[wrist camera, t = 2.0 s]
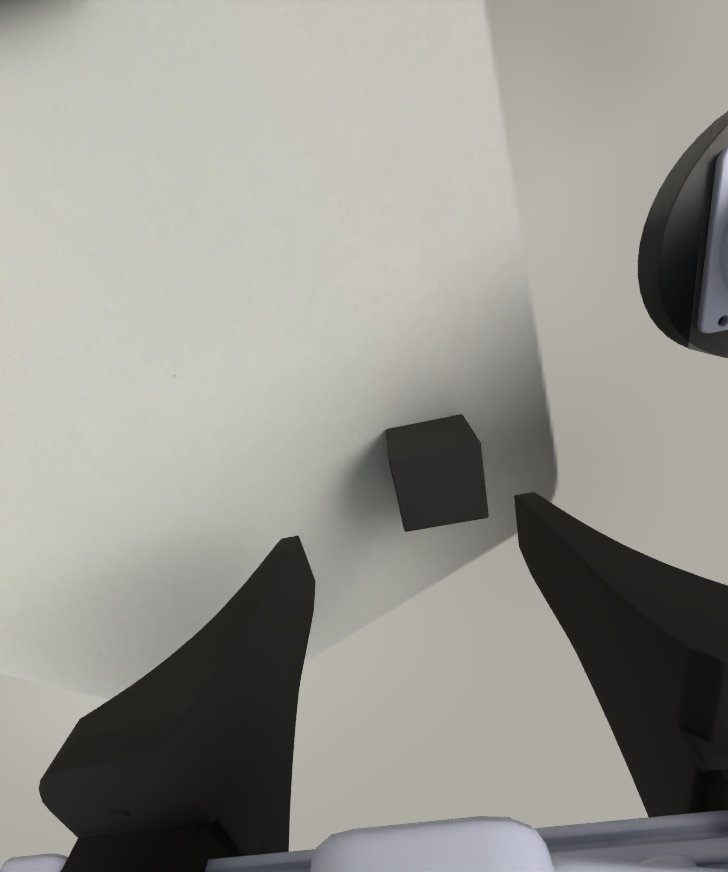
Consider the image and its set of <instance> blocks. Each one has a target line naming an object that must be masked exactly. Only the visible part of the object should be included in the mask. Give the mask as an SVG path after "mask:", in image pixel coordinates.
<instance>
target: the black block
mask: <svg viewBox="0 0 728 872" xmlns="http://www.w3.org/2000/svg"><path fill="white" fill-rule="evenodd" d="M386 437H387V447H388V457H389V463H390V468H391V472H392V477H393V481H394V486H395V491H396V495H397V500H398V504H399V509H400V513H401V518H402V522H403V527H404V531H405V532H407V531H413V530H419V529H425V528H431V527H436V526H442V525H448V524H454V523H460V522H466V521H471V520H477V519H483V518H488V516H489V514H488V505H487V496H486V487H485V478H484V469H483V460H482V451H481V443H480V441H479V440H478V438H477V436H476V435H475V433H474V432H473V430H472V429H471V427H470V426H469V424H468V422H467V421H466V419H465V418H464V416H463V415H456V416H451V417H446V418H441V419H436V420H431V421H426V422H421V423H416V424H411V425H406V426H401V427H396V428H391V429H387V430H386Z"/></svg>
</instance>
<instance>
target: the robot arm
mask: <svg viewBox="0 0 728 872" xmlns="http://www.w3.org/2000/svg"><path fill="white" fill-rule="evenodd" d="M721 317H722V318H723V319H722V322H721V323H720V324H718V321H719V319H720V318H721ZM697 329H698V330H699V331H700V332H703V333H714V332H719V331H723V330H728V148H726V149H724V150H723V151H722V152H721V153H720V154H719V156H718V157H717V160H716V164H715V173H714V182H713V190H712V199H711V207H710V216H709V224H708V233H707V242H706V250H705V259H704V267H703V276H702V285H701V293H700V302H699V310H698V319H697ZM514 498H515V509H516V519H517V530H518V540H519V547H520V550H521V552H522V555H523V557H524V559H525V562H526V564H527V566H528V568H529V571H530V573H531V575H532V577H533V578H534V580H535V582H536V584H537V585H538V587H539V589H540V591H541V592H542V594H543V596H544V598H545V599H546V601H547V603H548V604H549V606H550V608H551V609H552V611H553V613H554V614H555V616H556V618H557V620H558V621H559V623H560V625H561V626H562V628H563V630H564V631H565V633H566V635H567V637H568V638H569V640H570V642H571V644H572V646H573V648H574V649H575V651H576V653H577V655H578V657H579V659H580V661H581V663H582V666H583V668H584V670H585V672H586V674H587V676H588V678H589V680H590V683H591V685H592V687H593V689H594V691H595V694H596V696H597V698H598V700H599V703H600V704H601V707H602V709H603V711H604V714H605V716H606V718H607V720H608V722H609V725H610V727H611V729H612V731H613V734H614V736H615V738H616V741H617V743H618V745H619V748H620V750H621V752H622V755H623V757H624V759H625V762H626V764H627V766H628V768H629V771H630V773H631V775H632V778H633V780H634V783H635V785H636V788H637V790H638V792H639V795H640V797H641V799H642V802H643V805H644V807H645V809H646V812H647V814H648V817H649V818H639V819H628V820H618V821H608V822H597V823H586V824H576V825H565V826H555V827H544V828H532V827H531V826H530V825H528V824H525V823H522V822H520V821H517V820H514V819H512V818H509V817H488V816H487V817H486V816H479V817H468V818H458V819H448V820H439V821H428V822H418V823H408V824H399V825H389V826H379V827H369V828H358V829H352V830H348V831H344V832H341V833H336V834H332V835H331V836H329V837H328V838H327V839H326V840H325V841H323V842H322V843H321V844H320V845H319V846H318V847H317V848H316V849H314V850H304V851H293V852H289V850H288V849H289V822H290V821H289V820H290V799H291V780H292V764H293V750H294V737H295V724H296V714H297V704H298V693H299V687H300V680H301V674H302V669H303V664H304V659H305V654H306V649H307V643H308V638H309V633H310V628H311V622H312V617H313V611H314V599H315V579H314V576H313V573H312V571H311V568H310V565H309V562H308V560H307V557H306V554H305V552H304V549H303V546H302V544H301V541H300V538H299V536H294V537H288V538H283V539H281V540H280V541H279V542H278V543H277V545H276V546H275V547H274V548H273V549H272V551H271V552H270V553H269V554H268V556H267V557H266V558H265V559H264V561H263V562H262V563H261V564H260V566H259V567H258V568H257V569H256V571H255V572H254V573H253V574H252V575H251V577H250V578H249V579H248V580H247V582H246V583H245V584H244V585H243V586H242V587H241V588H240V589H239V591H238V592H237V593H236V594H235V595H234V596H233V597H232V598H231V600H230V601H229V602H228V603H227V604H226V605H225V606H224V607H223V608H222V609H221V610H220V611H219V612H218V613H217V614H216V615H215V617H214V618H213V619H211V620H210V621H209V622H208V623H207V624H206V625H205V626H204V627H203V628H202V629H201V630H200V631H199V632H198V633H197V634H196V635H194V636H193V637H192V638H191V639H190V640H189V641H187V642H186V643H185V644H184V645H183V646H182V647H180V648H179V649H178V650H177V651H176V652H174V653H173V654H172V655H171V656H170V657H169V658H167V659H166V660H165V661H164V662H162V663H161V664H160V665H158V666H157V667H156V668H154V669H153V670H152V671H151V672H149V673H148V674H147V675H145V676H144V677H142V678H141V679H140V680H138V681H137V682H135V683H134V684H133V685H131V686H130V687H128V688H127V689H126V690H124V691H123V692H121V693H120V694H118V695H117V696H115V697H114V698H112V699H110V700H109V701H107V702H106V703H104V704H103V705H101V706H100V707H98V708H97V709H95V710H94V711H92V712H90V713H89V714H87V715H86V716H84V717H82V718H81V719H80V720H79V721H78V723H77V724H76V726H75V727H74V729H73V730H72V732H71V734H70V735H69V737H68V738H67V740H66V741H65V743H64V744H63V746H62V748H61V749H60V751H59V752H58V754H57V755H56V757H55V758H54V760H53V762H52V763H51V765H50V766H49V768H48V769H47V771H46V772H45V774H44V775H43V777H42V778H41V780H40V785H39V792H40V796H41V799H42V802H43V803H44V804H45V806H47V808H48V809H49V810H50V811H51V812H52V813H53V814H54V815H55V816H56V817H57V818H58V819H59V820H60V821H61V822H62V823H63V824H64V825H65V826H66V827H67V828H68V829H69V830H71V831H72V832H73V833H74V834H75V835H76V836H77V837H78V840H77V842H76V844H75V845H74V847H73V849H72V851H71V853H70V855H69V857H66V856H64V855H59V854H42V855H32V856H23V857H13V858H10V859H8V860H7V861H6V862H5V863H4V865H3V866H2V868H1V870H0V872H728V586H727V585H724V584H721V583H718V582H715V581H712V580H709V579H706V578H703V577H700V576H697V575H695V574H692V573H689V572H687V571H684V570H681V569H678V568H676V567H673V566H671V565H668V564H665V563H663V562H660V561H658V560H656V559H654V558H651V557H649V556H647V555H645V554H642V553H640V552H638V551H635V550H633V549H631V548H629V547H627V546H625V545H623V544H621V543H619V542H617V541H615V540H613V539H611V538H609V537H607V536H606V535H604V534H602V533H600V532H598V531H596V530H594V529H593V528H591V527H589V526H587V525H586V524H584V523H582V522H581V521H579V520H577V519H576V518H574V517H572V516H571V515H569V514H567V513H566V512H564V511H563V510H561V509H560V508H558V507H556V506H555V505H553V504H552V503H550V502H549V501H547V500H546V499H544V498H543V497H541V496H539V495H538V494H536V493H535V492H531V493H526V494H520V495H515V496H514Z"/></svg>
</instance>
